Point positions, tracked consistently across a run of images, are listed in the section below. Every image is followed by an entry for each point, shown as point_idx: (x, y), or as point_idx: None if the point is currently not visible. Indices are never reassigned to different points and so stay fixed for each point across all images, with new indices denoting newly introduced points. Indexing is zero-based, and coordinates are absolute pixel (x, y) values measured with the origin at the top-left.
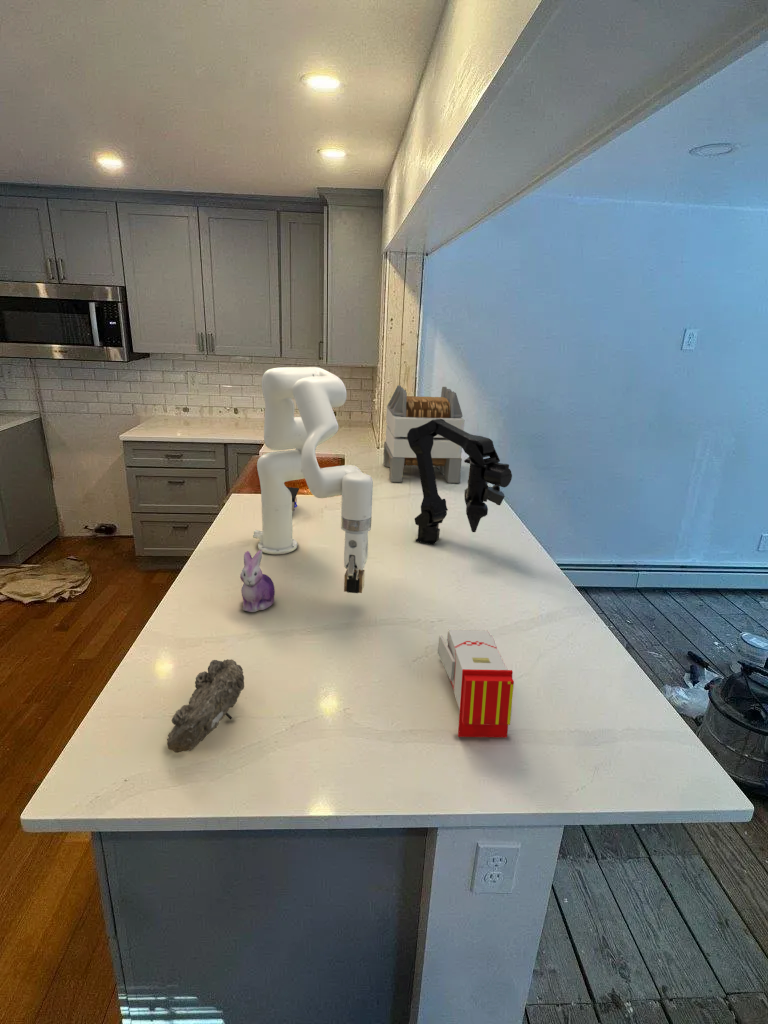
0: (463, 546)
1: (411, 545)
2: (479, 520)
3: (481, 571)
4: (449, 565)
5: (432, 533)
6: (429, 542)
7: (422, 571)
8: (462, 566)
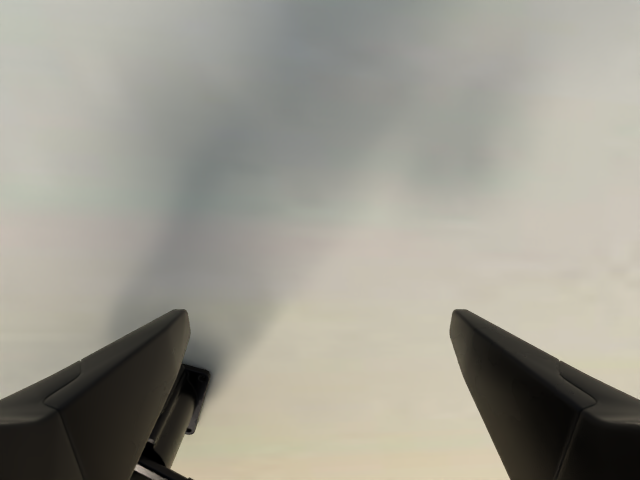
0: (172, 243)
1: (236, 438)
2: (621, 396)
3: (471, 168)
4: (413, 308)
5: (172, 416)
6: (197, 389)
7: None
8: (419, 256)
